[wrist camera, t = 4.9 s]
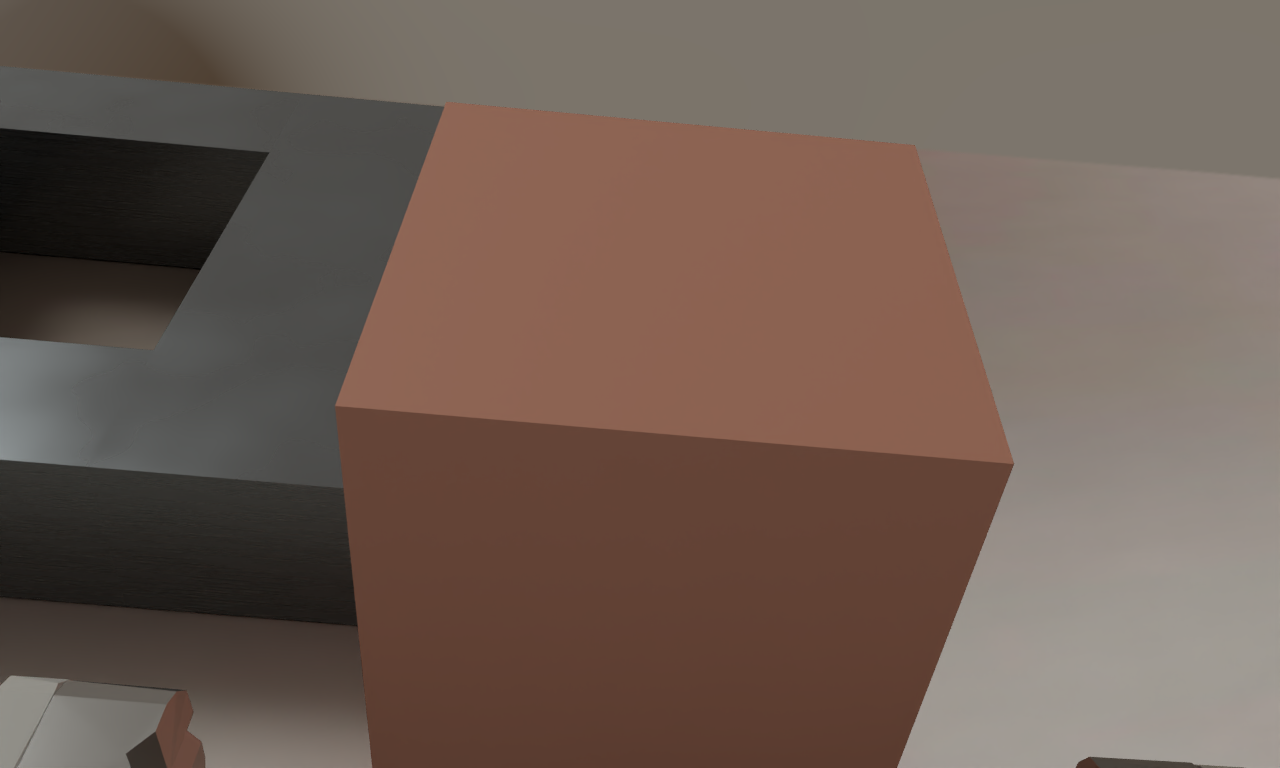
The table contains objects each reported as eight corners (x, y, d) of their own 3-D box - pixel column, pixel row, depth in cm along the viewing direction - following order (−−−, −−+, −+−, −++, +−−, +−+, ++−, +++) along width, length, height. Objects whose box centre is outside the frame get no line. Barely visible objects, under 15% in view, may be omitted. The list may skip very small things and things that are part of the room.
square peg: (759, 757, 17) (914, 145, 11) (775, 1083, 14) (1014, 464, 8) (459, 733, 17) (446, 102, 11) (402, 1056, 14) (335, 407, 8)
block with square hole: (599, 237, 28) (608, 109, 26) (553, 640, 19) (561, 491, 17) (-258, 160, 28) (-318, 24, 25) (-746, 536, 18) (-904, 367, 16)
